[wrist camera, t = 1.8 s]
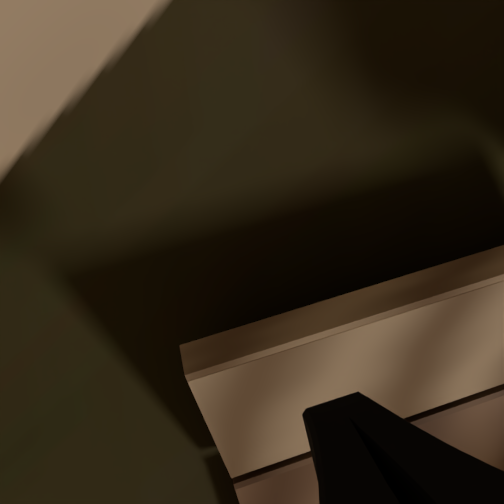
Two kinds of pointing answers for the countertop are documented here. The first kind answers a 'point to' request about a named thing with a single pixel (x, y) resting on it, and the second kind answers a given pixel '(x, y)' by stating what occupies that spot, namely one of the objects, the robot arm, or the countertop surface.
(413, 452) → the robot arm
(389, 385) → the plank
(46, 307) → the countertop surface
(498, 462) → the laid board
